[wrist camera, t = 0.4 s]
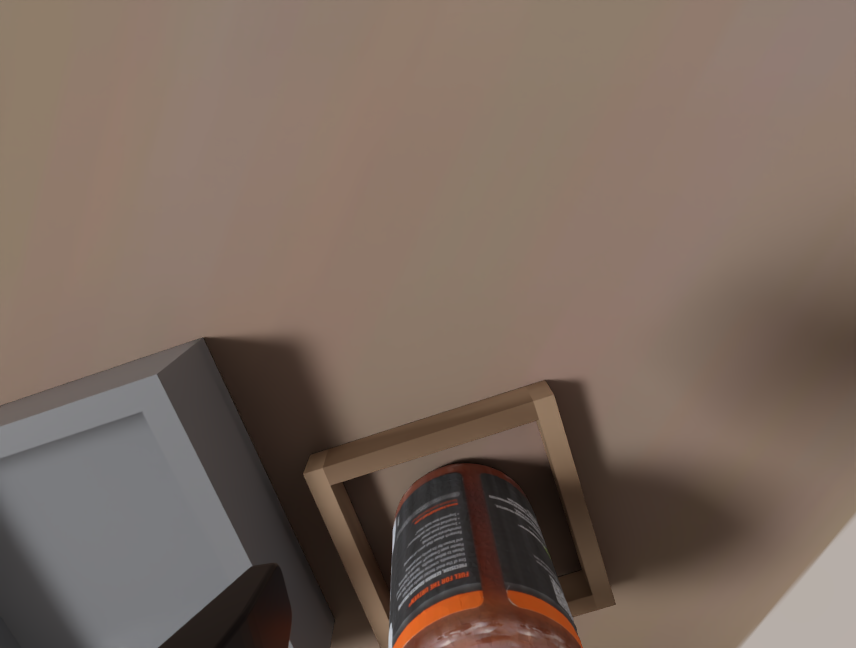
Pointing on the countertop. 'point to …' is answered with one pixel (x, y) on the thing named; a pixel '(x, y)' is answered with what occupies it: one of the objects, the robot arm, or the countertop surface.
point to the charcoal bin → (137, 509)
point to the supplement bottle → (473, 567)
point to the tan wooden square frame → (436, 435)
